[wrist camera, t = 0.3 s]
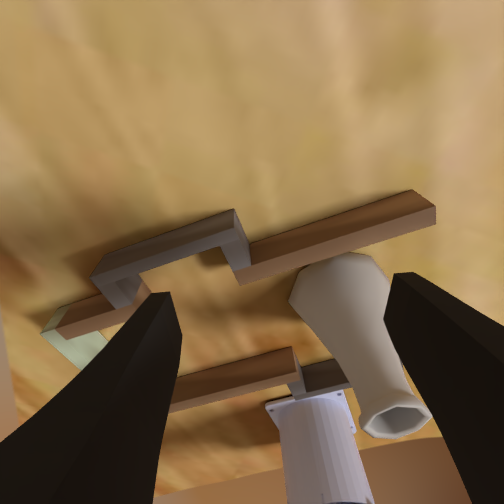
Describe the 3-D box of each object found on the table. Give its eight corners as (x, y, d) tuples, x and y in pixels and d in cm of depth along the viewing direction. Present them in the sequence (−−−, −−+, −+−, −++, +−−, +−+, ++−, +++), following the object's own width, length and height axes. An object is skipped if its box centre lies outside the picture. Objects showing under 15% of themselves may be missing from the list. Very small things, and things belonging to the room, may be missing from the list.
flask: (271, 302, 23) (291, 441, 15) (329, 231, 20) (399, 357, 11) (341, 332, 25) (394, 467, 17) (404, 273, 22) (509, 404, 14)
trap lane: (422, 341, 26) (438, 366, 24) (160, 409, 30) (154, 435, 28) (410, 145, 17) (434, 157, 15) (31, 281, 21) (8, 305, 19)
